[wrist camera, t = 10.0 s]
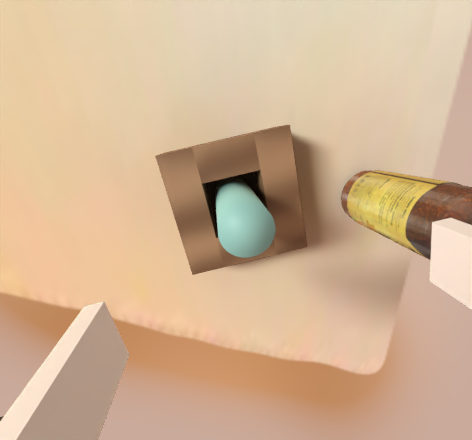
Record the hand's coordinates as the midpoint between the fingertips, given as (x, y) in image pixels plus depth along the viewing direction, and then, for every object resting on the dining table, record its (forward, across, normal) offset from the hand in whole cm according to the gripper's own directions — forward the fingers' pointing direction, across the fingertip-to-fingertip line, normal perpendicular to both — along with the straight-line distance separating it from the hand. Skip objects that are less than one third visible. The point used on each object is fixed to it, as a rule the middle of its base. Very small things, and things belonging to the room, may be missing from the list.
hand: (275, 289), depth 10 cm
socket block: (+20, 0, -1) cm, 20 cm away
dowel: (+20, 0, -1) cm, 20 cm away
